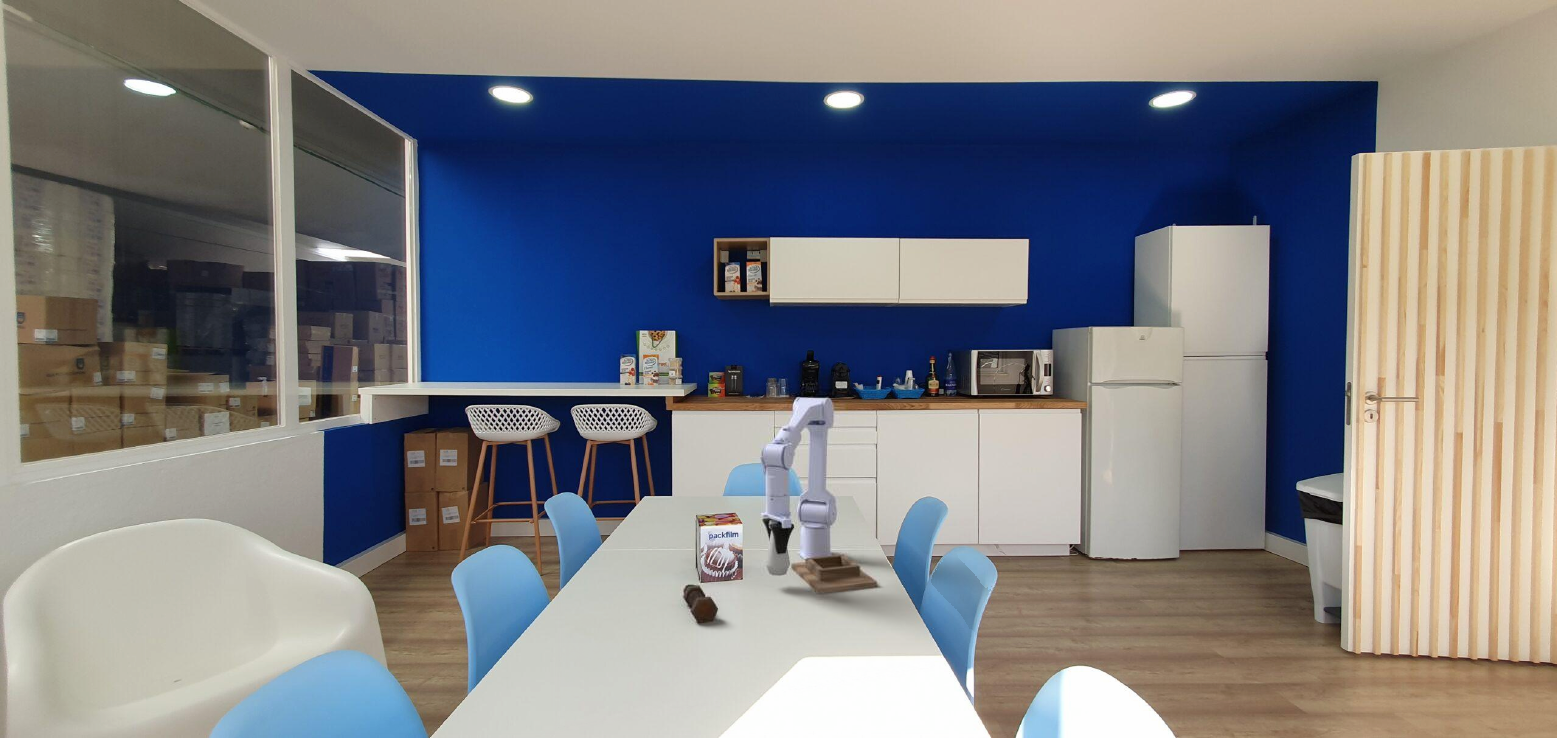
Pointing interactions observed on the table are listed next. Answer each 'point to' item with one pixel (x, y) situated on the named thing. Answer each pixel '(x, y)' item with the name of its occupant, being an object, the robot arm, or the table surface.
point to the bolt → (700, 604)
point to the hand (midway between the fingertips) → (778, 550)
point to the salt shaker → (776, 557)
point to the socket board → (833, 574)
